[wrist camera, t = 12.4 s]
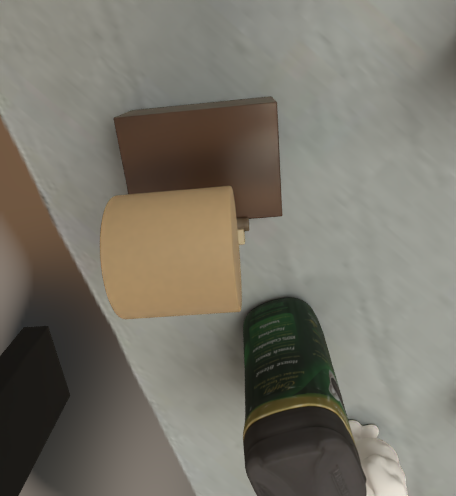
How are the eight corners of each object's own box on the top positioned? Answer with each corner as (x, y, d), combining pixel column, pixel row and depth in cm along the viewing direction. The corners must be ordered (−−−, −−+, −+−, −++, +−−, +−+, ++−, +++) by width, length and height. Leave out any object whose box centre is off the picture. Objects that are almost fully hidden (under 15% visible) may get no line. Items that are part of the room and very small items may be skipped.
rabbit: (352, 400, 48) (384, 501, 37) (419, 430, 49) (469, 535, 38) (297, 465, 52) (312, 572, 41) (360, 491, 54) (390, 600, 43)
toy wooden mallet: (87, 194, 17) (103, 335, 18) (232, 181, 17) (244, 327, 17) (168, 200, 34) (175, 274, 34) (242, 194, 33) (248, 268, 34)
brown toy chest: (131, 110, 36) (109, 119, 30) (272, 96, 35) (277, 102, 29) (150, 215, 40) (134, 241, 34) (277, 205, 39) (283, 230, 33)
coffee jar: (232, 309, 43) (226, 467, 26) (305, 285, 42) (348, 435, 25) (265, 378, 47) (278, 557, 30) (333, 357, 46) (387, 533, 29)
